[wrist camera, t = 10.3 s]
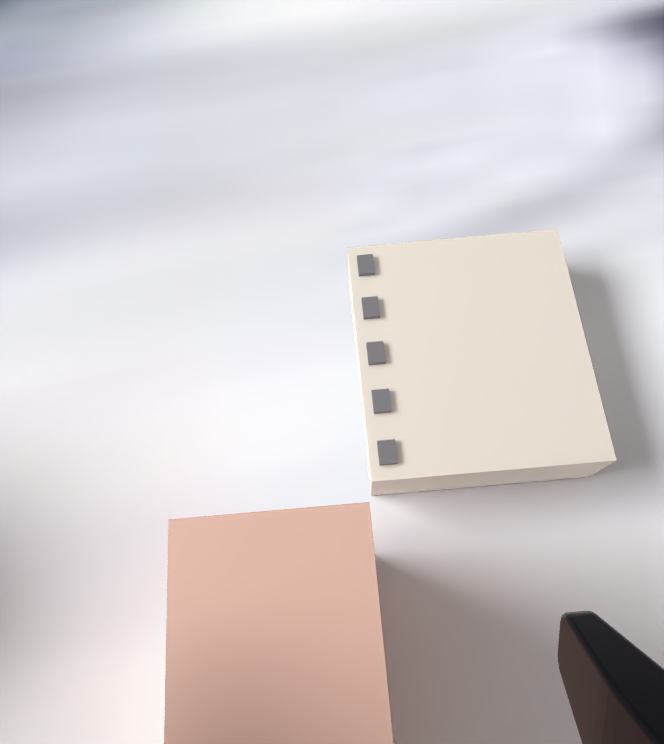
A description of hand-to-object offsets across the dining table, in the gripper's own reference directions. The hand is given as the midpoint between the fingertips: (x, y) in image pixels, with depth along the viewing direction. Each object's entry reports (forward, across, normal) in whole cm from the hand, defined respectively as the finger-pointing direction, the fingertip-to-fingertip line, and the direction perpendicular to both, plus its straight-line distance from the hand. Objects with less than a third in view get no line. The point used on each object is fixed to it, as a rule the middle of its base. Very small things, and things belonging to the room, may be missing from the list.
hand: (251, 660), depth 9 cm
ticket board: (+16, -6, +3) cm, 17 cm away
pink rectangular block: (+8, 0, +10) cm, 13 cm away
